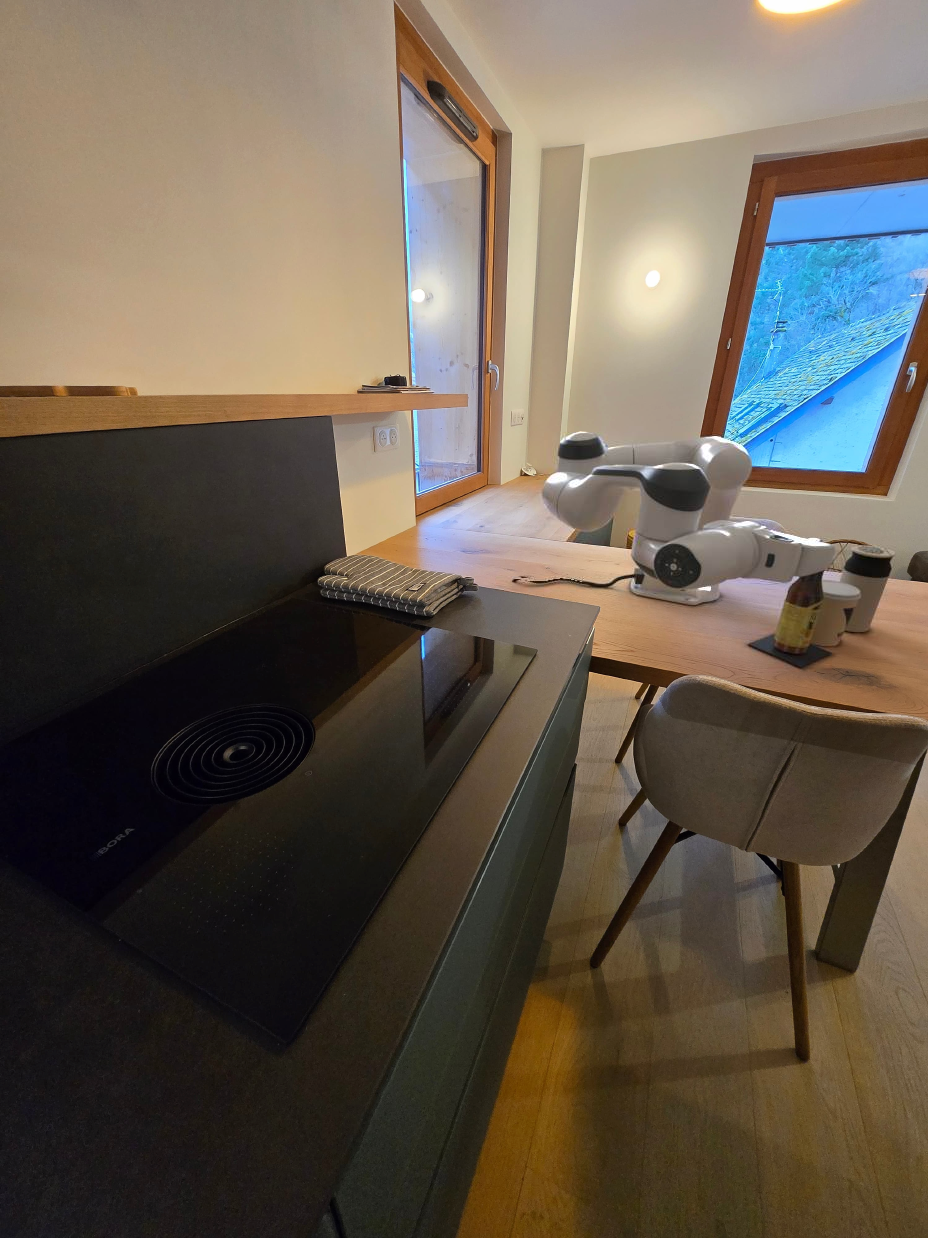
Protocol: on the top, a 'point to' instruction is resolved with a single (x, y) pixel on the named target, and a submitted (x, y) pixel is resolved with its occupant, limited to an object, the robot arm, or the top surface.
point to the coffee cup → (834, 612)
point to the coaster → (794, 659)
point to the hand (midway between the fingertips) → (788, 536)
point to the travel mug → (866, 582)
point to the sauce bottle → (799, 614)
